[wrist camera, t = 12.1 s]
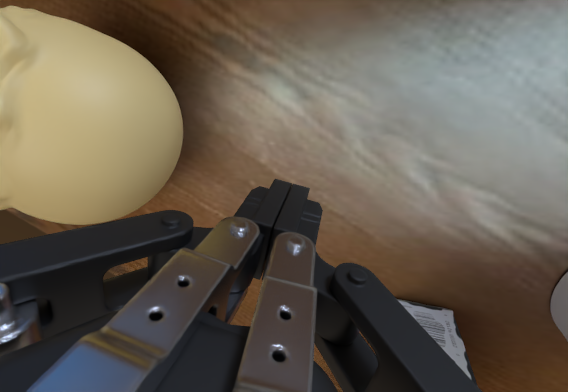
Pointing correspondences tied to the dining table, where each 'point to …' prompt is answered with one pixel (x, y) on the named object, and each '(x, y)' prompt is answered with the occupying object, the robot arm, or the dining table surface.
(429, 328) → the candy bar box
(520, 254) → the dining table surface
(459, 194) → the dining table surface
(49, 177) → the sculpture
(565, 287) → the container
